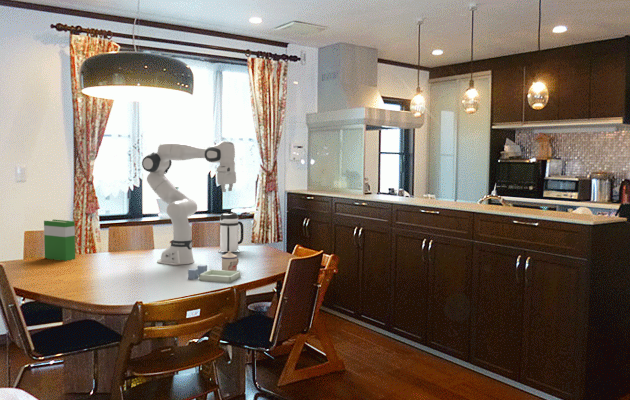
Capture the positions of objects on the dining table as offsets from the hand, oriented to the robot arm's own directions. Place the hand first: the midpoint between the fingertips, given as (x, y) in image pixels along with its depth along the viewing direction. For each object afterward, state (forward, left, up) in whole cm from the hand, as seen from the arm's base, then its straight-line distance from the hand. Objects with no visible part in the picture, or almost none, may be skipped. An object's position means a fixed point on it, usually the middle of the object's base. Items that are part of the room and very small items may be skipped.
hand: (227, 191), depth 327 cm
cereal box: (-107, -13, -46) cm, 117 cm away
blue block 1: (-4, -35, -46) cm, 58 cm away
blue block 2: (-4, -24, -46) cm, 52 cm away
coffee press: (-16, +44, -46) cm, 65 cm away
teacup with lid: (+8, -11, -46) cm, 48 cm away
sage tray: (+10, -31, -45) cm, 56 cm away
